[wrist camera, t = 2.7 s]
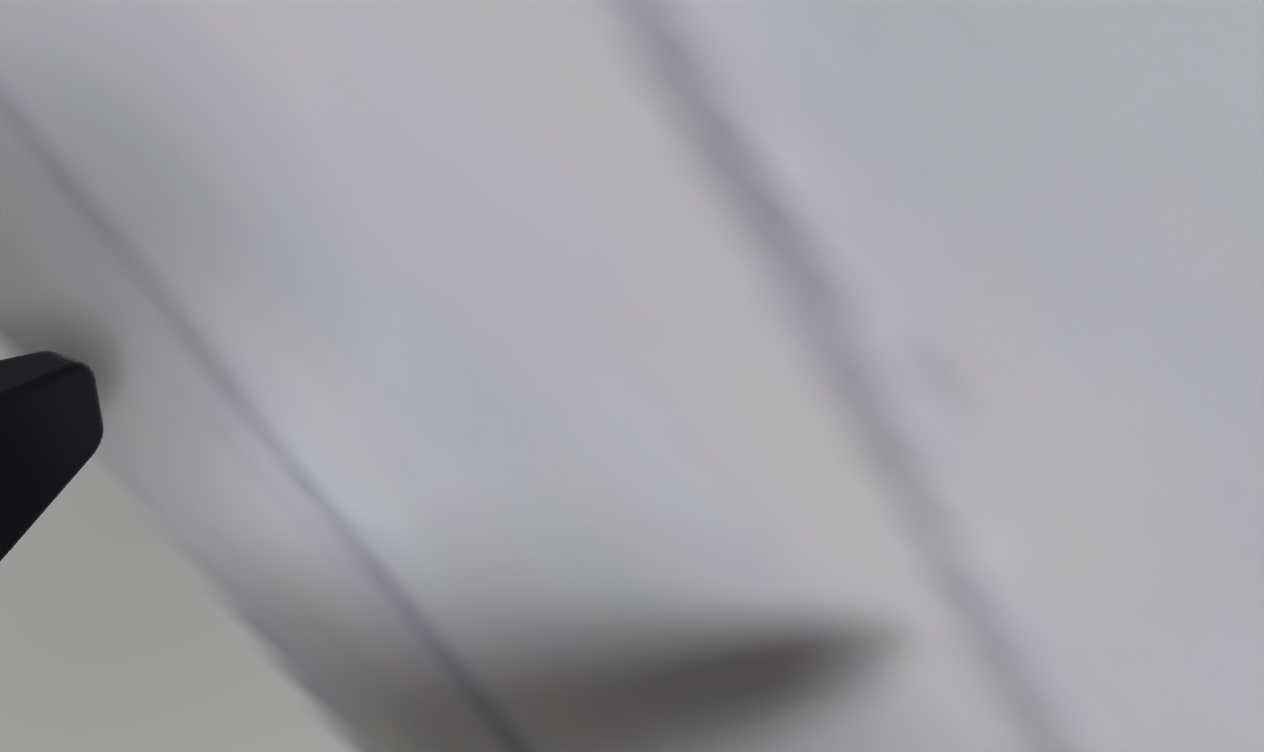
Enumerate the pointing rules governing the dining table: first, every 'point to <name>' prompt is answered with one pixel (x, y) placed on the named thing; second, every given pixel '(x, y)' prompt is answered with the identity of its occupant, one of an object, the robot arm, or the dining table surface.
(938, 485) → the dining table surface
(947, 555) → the dining table surface
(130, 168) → the dining table surface
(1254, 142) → the dining table surface
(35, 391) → the robot arm
